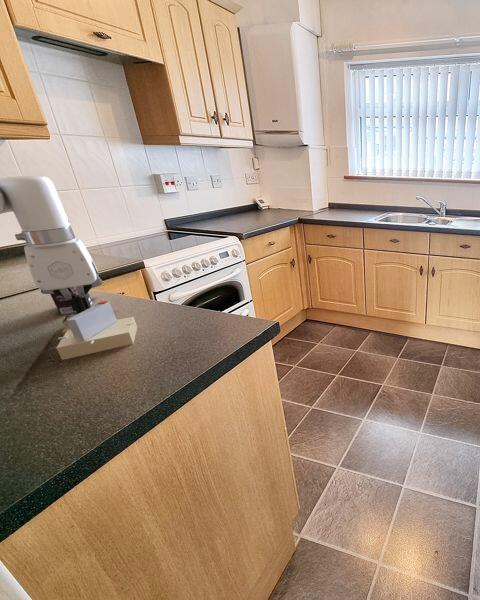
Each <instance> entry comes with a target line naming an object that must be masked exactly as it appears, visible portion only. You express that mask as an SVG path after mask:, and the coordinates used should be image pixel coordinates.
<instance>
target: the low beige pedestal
mask: <svg viewBox="0 0 480 600" xmlns="http://www.w3.org/2000/svg"><path fill="white" fill-rule="evenodd" d="M137 331H138V325H137V323H136V320H135V317H134V316H130V317H124V318H120V319H117V322H115V323H113V324H112V325H110V326H108V327H107V328H105V329H104V330H102V331H100V332H99V333H97V334H95V335H94V336H92V337H91V338H89V339H87V340H86V341H76V340H75V337H74V335H73V333H72V331H71V329H69V330H67V332H66V333H65V335H64V336H63V335H62V336H61V337H58V338H57V340H60V341H59V343H58V344H57V346H56V347H55V349H56V350H57V353H58V354H59V357H60V358H61V360H62V361H65V360H68V359H73V358H76V357H83V356H86V355H90V354H95V353H99V352H103V351H107V350H112V349H116V348H121V347H126V346H130V345H133V344H134V343H135V339H136V334H137Z"/></svg>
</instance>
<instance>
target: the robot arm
mask: <svg viewBox="0 0 480 600" xmlns="http://www.w3.org/2000/svg"><path fill="white" fill-rule="evenodd" d="M12 212H13V214H14V216H15V219H16V220H17V222H18V225H19V227H20V229H21V230H20V231H21V232H19V233H15V234H14V237H15V239H16V241H25V243H26V245H24V246H23V248H24V249H23V250H24V254H25V258H26V262H27V265H28V268H29V271H30V274H31V277H32V279H33V282H34V284H35V286H36V288H37V289H38V290H40V294H43V295H50V294H57V295H59V296H62V297H64V298H65V299H67V300H69V302H70V304H71V307H72V309H73V311H77V314H79V313H81V312H83V311H85V310H87V309H89V308H91V307H92V305H91V304H90V302H89V300H88V297H87V295H86V294H87V293H89V292H90V290H92V289H94V288H97V287H100V286H102V285H103V283H104V282H103V280H102V279H101V277H100V276H99V270H98V268H97V266H96V264H95V262H94V260H93V258H92V256H91V254H90V253H89V251H88V249H87V248H86V246H85V244H84V243H83V242H82V240H81V239H80V238H76V235H75V233H74V230H73V228H72V226H71V223H70V221H69V219H68V215H67V213H66V212H65V209H64V206H63V203H62V201H61V198H60V197H59V194H58V191H57V189H56V187H55V184H54V183H53V181H52V180H51V179H50V178H49V177H47V176H43V175H21V176H20V175H18V176H9V177H0V215H2V214H6V213H12ZM71 287H76V288H77V293H78V295H76V294H75V293H74V291H73V290H72V288H71Z"/></svg>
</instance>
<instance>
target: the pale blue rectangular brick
mask: <svg viewBox="0 0 480 600" xmlns="http://www.w3.org/2000/svg"><path fill="white" fill-rule="evenodd" d="M66 319H67V318H66ZM117 320H118V319H117V316H116V314H115V312H114V310H113V307H112V305H111V302H110V301H108V300H101V301H99V302H97V303H96V304H95V305H93V306H91V308H89V309H87V310H85V311H83V312H81V313H79V314H77V315H75V316H73V317H71V318H69V319H67V320H66V322H67V324H68V325H69V327H70V329H71V331H72V333H73V335H74V337H75V340H76V341H86V340H87V339H89V338H91V337H92V336H94V335H95V334H97V333H99V332H100V331H102V330H104V329H105V328H107V327H108V326H110V325H112V324H113V323H115V322H117Z"/></svg>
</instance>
